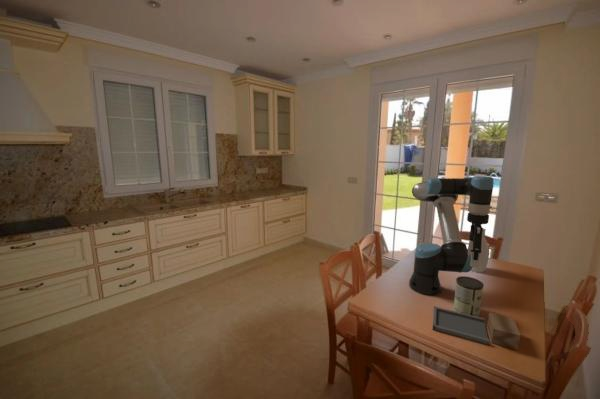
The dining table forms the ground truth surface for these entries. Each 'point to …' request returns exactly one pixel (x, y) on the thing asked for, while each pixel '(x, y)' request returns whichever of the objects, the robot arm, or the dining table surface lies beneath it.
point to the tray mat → (460, 325)
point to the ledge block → (503, 331)
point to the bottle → (482, 255)
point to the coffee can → (468, 295)
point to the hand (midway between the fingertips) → (472, 260)
